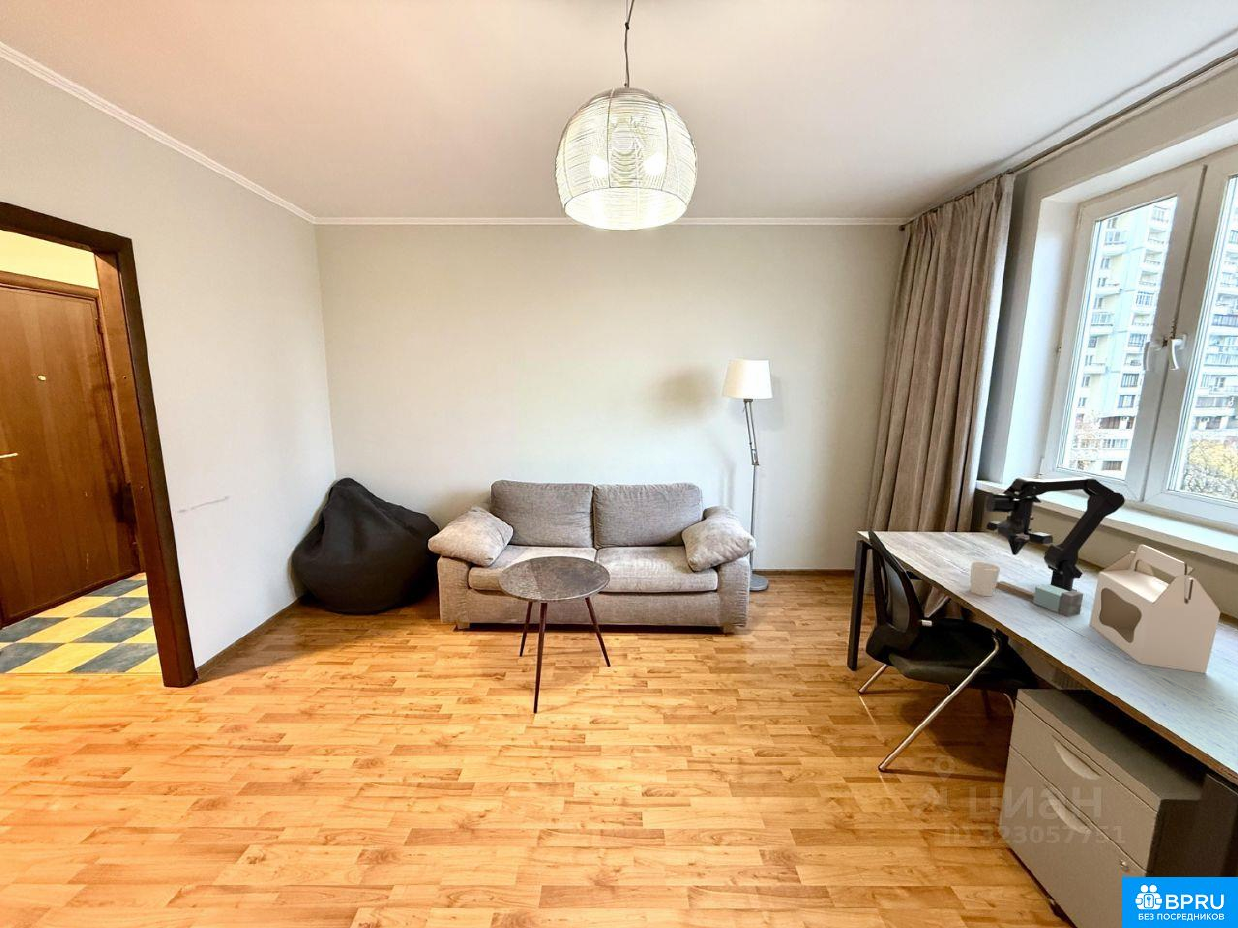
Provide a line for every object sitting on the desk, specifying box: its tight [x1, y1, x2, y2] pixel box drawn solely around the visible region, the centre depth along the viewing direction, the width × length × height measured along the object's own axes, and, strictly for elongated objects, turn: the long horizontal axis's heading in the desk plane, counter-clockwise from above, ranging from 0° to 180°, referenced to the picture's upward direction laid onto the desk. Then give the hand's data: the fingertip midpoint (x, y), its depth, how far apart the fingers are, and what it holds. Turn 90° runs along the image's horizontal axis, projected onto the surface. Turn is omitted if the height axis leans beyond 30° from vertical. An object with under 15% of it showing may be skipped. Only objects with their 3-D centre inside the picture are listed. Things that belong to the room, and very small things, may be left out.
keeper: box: [1032, 583, 1068, 613], centre depth 155 cm, size 7×7×6 cm
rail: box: [996, 580, 1084, 618], centre depth 160 cm, size 6×22×7 cm, turn 18°
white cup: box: [969, 561, 1001, 597], centre depth 166 cm, size 8×8×10 cm
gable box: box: [1089, 544, 1221, 674], centre depth 130 cm, size 22×13×28 cm, turn 162°
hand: (1014, 554), depth 170 cm, fingers closed
